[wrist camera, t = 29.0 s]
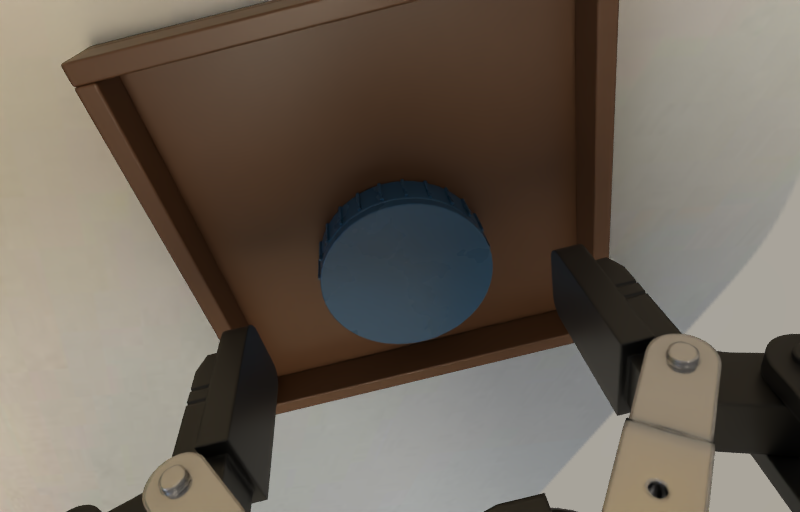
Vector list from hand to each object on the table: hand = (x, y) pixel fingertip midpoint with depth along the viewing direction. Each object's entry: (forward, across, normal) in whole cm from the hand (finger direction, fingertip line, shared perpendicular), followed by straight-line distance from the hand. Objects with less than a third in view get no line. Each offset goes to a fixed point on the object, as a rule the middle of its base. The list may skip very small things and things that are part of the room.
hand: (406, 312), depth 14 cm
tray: (+6, 0, 0) cm, 6 cm away
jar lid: (+4, 0, +2) cm, 4 cm away
